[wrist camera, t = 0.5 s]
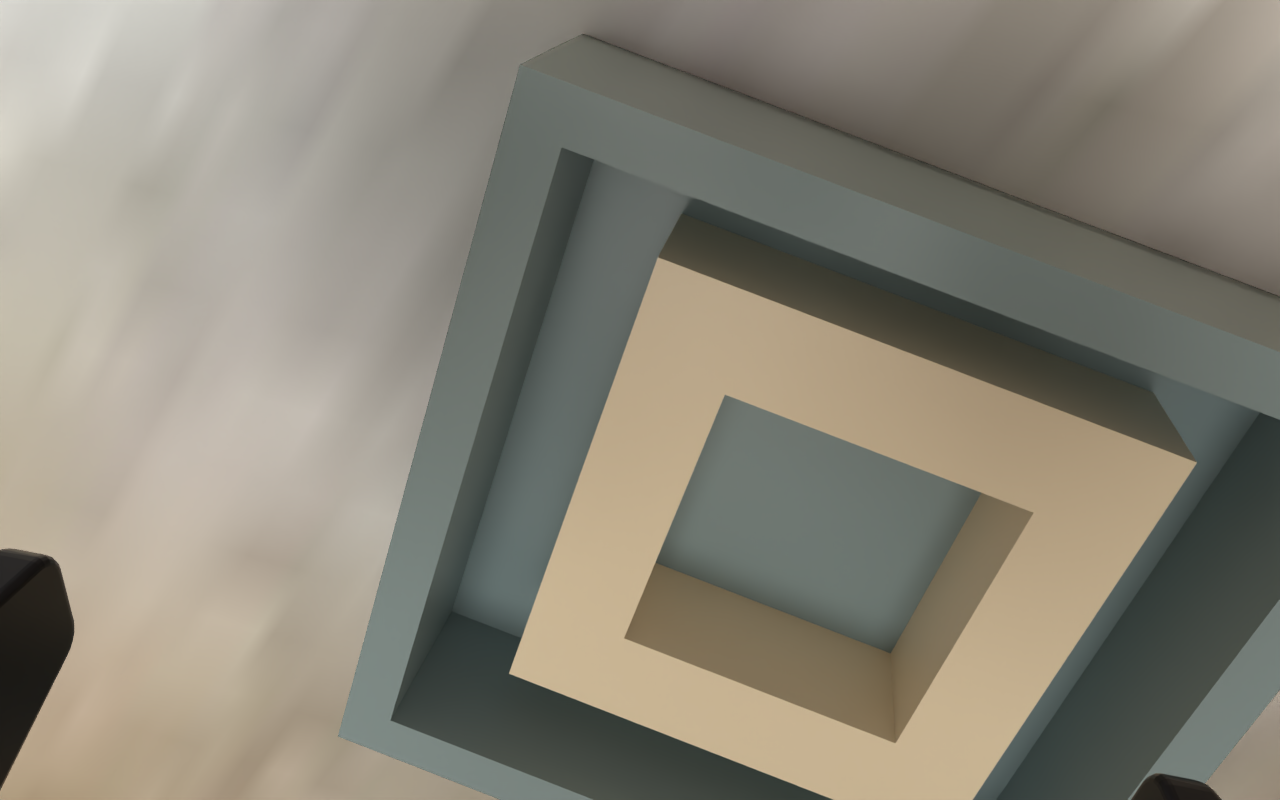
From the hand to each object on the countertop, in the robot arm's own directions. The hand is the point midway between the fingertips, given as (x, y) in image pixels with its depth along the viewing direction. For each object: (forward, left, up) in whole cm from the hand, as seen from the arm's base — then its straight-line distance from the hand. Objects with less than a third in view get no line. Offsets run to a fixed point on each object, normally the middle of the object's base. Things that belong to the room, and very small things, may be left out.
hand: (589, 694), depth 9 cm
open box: (-5, -4, -15) cm, 16 cm away
